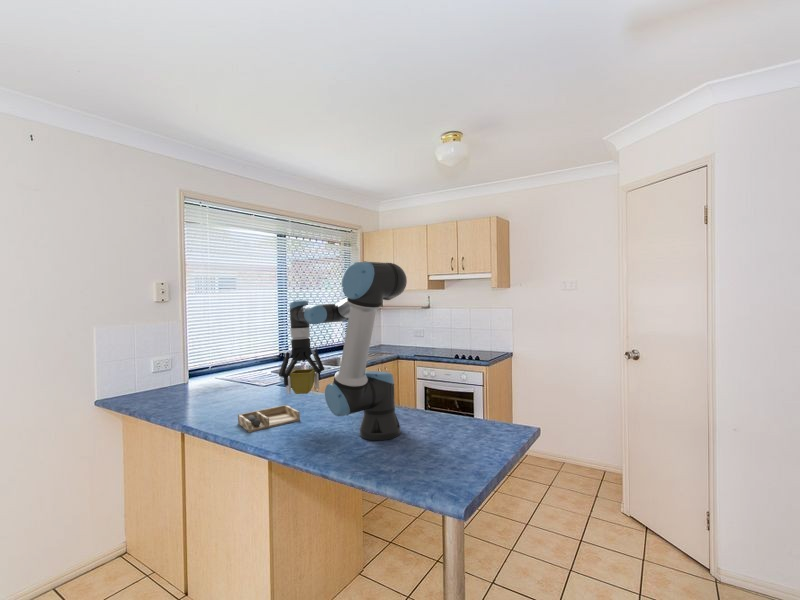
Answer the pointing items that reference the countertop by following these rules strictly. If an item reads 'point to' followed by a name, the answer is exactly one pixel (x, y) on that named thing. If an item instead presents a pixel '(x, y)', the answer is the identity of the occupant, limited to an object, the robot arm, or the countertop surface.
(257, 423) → the cord stub
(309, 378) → the flower pot
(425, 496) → the countertop surface
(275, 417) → the divided wooden tray
